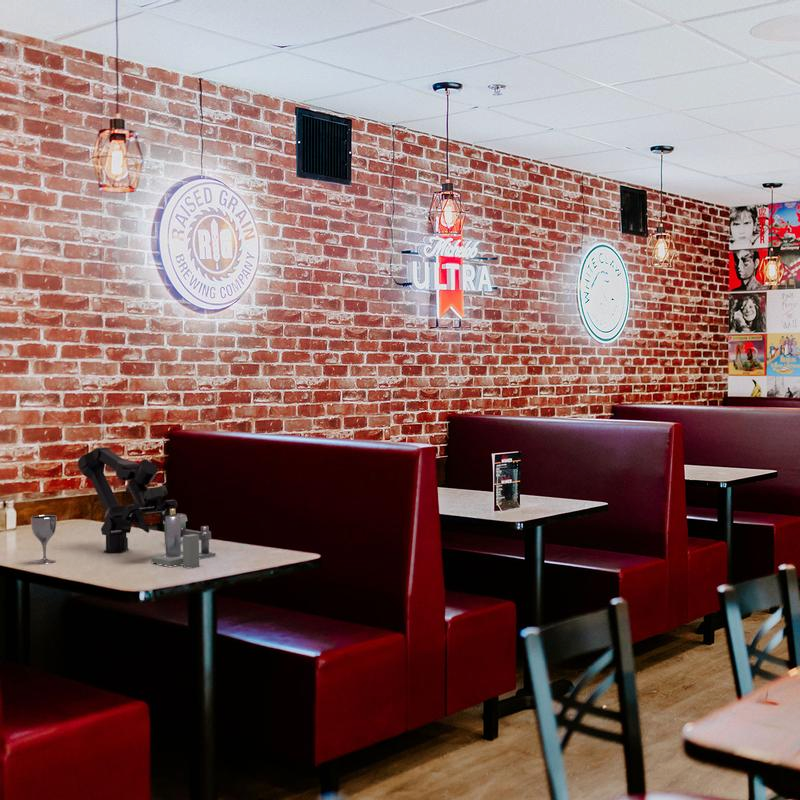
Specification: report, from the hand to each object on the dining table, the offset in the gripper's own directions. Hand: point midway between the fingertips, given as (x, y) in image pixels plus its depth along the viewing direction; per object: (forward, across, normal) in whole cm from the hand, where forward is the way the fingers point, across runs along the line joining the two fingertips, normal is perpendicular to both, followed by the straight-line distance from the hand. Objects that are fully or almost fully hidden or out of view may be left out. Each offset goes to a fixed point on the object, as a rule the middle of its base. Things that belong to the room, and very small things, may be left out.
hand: (160, 530), depth 329 cm
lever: (+5, +14, +7) cm, 17 cm away
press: (+14, +6, 0) cm, 15 cm away
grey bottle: (+10, 0, 0) cm, 11 cm away
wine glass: (-12, -26, +27) cm, 40 cm away
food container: (-10, +24, +25) cm, 36 cm away
